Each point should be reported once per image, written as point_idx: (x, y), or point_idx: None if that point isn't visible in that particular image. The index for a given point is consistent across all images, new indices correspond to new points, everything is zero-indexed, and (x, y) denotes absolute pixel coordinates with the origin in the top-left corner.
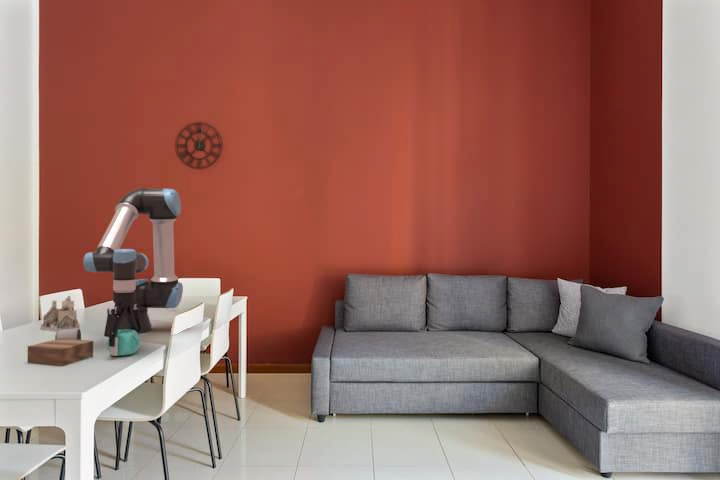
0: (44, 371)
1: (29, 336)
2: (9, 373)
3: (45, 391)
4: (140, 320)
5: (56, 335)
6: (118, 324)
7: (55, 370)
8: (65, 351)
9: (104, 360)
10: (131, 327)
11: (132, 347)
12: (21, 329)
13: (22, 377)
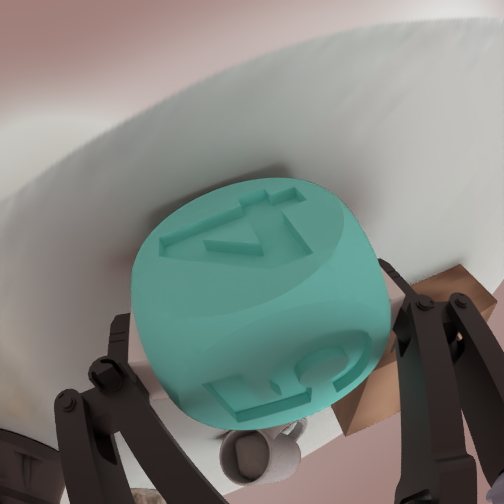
0: (495, 247)
1: (220, 485)
2: (495, 287)
3: None
4: (77, 482)
5: (299, 462)
6: (447, 400)
7: (492, 233)
8: (481, 299)
9: (385, 214)
10: (168, 432)
11: (240, 208)
12: None
13: None
